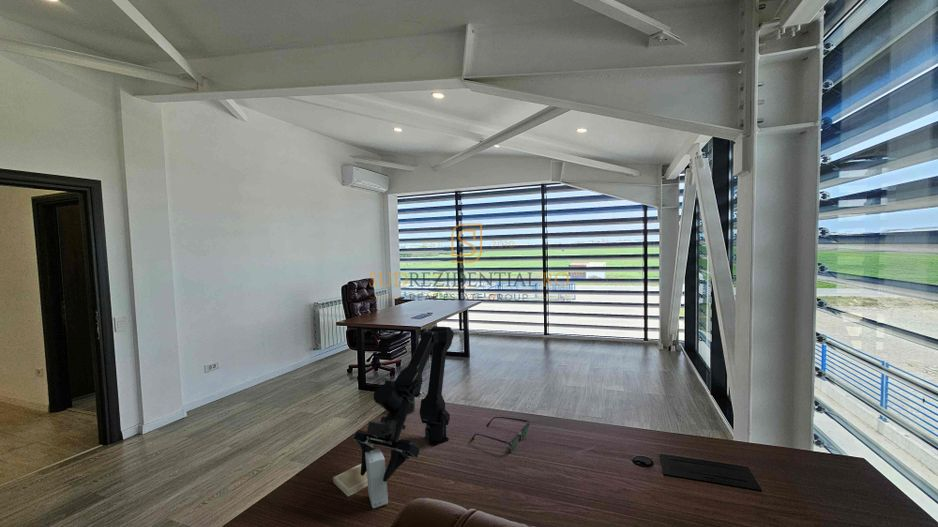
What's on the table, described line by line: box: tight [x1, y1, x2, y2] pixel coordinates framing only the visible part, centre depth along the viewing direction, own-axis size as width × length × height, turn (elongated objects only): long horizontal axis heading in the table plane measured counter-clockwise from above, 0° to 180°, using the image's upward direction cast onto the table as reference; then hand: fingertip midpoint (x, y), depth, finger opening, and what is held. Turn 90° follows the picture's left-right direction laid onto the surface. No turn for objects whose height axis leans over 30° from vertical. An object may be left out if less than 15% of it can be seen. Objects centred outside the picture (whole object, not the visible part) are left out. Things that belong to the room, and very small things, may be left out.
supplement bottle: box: [403, 395, 416, 414], centre depth 149 cm, size 7×7×12 cm
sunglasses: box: [471, 416, 531, 453], centre depth 124 cm, size 16×17×5 cm
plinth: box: [332, 463, 368, 497], centre depth 103 cm, size 9×9×2 cm
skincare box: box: [365, 447, 389, 509], centre depth 95 cm, size 6×4×12 cm
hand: (372, 478), depth 93 cm, fingers closed on skincare box, 7 cm apart
